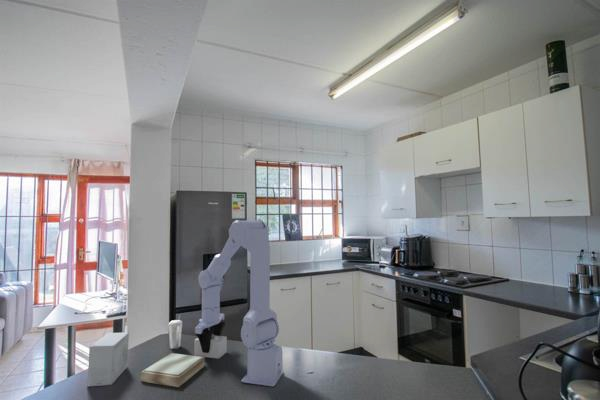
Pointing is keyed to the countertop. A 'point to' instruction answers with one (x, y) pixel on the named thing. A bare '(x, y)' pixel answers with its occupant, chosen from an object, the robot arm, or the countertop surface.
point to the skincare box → (107, 359)
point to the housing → (212, 347)
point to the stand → (173, 369)
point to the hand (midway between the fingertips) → (210, 348)
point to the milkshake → (175, 333)
